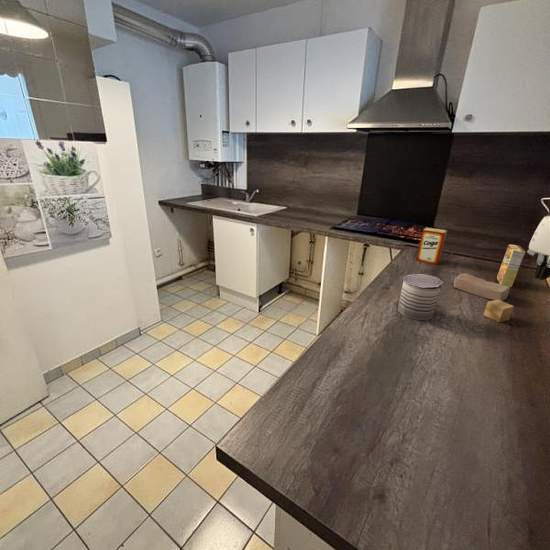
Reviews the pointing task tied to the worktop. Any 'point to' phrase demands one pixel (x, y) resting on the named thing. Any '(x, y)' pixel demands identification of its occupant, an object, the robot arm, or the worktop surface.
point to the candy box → (510, 265)
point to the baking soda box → (431, 245)
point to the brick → (481, 287)
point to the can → (419, 296)
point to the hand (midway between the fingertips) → (540, 278)
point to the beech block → (498, 310)
